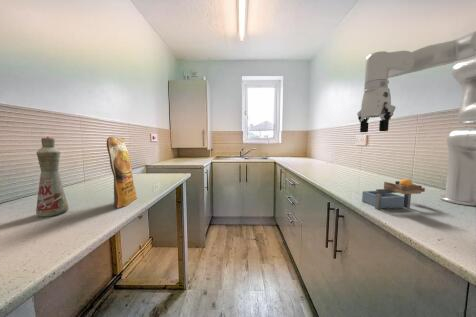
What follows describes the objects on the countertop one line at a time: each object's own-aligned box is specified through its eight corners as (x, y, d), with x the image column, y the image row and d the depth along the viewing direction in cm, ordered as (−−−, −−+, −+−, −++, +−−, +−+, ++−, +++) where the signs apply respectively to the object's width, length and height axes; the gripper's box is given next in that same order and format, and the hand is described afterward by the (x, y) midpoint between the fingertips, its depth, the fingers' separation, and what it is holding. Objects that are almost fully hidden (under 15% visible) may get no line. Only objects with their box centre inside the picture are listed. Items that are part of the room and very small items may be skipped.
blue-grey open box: (403, 208, 79) (404, 196, 79) (381, 209, 78) (381, 197, 77) (382, 200, 89) (382, 190, 88) (362, 201, 88) (362, 191, 87)
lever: (448, 196, 72) (449, 184, 72) (394, 199, 70) (395, 186, 69) (403, 185, 90) (403, 176, 89) (358, 187, 87) (359, 177, 87)
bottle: (75, 210, 77) (69, 136, 74) (46, 219, 68) (39, 136, 66) (59, 208, 79) (53, 136, 77) (30, 216, 71) (22, 136, 68)
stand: (409, 208, 79) (411, 193, 78) (378, 209, 77) (379, 194, 76) (406, 206, 80) (407, 192, 80) (374, 208, 79) (375, 193, 78)
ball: (405, 187, 75) (406, 177, 74) (415, 189, 71) (415, 179, 71) (396, 187, 74) (397, 178, 74) (405, 190, 71) (406, 180, 70)
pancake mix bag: (103, 210, 77) (98, 136, 74) (126, 196, 96) (123, 137, 93) (122, 209, 77) (118, 136, 75) (141, 196, 96) (138, 137, 94)
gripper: (405, 81, 70) (402, 130, 71) (367, 92, 87) (365, 132, 89) (386, 80, 69) (383, 130, 70) (351, 92, 86) (349, 132, 88)
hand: (373, 131), depth 79 cm, fingers open, 9 cm apart
